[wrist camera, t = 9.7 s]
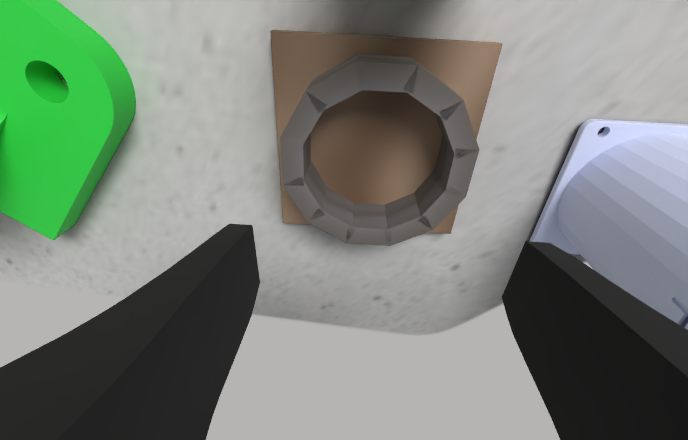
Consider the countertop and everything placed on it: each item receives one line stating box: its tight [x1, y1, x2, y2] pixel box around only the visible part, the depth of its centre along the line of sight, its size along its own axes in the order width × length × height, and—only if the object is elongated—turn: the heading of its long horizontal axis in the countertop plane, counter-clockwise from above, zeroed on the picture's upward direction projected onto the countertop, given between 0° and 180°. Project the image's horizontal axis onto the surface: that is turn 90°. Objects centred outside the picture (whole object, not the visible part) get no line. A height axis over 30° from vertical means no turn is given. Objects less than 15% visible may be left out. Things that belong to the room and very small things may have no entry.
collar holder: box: [271, 30, 502, 246], centre depth 16 cm, size 10×10×3 cm
